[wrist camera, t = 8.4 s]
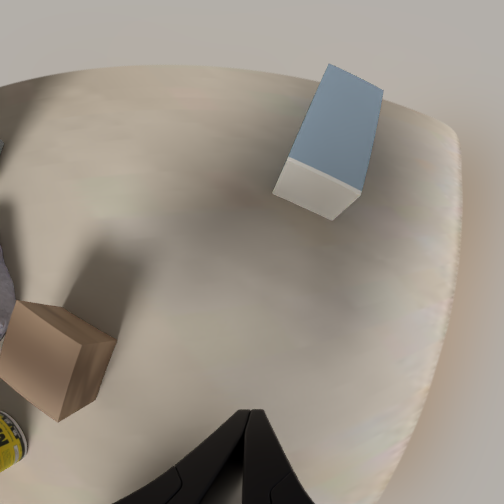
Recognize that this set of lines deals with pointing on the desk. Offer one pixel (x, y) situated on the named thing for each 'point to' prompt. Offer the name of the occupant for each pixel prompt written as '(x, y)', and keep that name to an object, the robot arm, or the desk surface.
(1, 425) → the supplement bottle
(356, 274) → the desk surface
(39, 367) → the walnut block
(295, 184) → the slate block
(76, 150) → the desk surface
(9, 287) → the stone block
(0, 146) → the hard drive box
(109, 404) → the desk surface
